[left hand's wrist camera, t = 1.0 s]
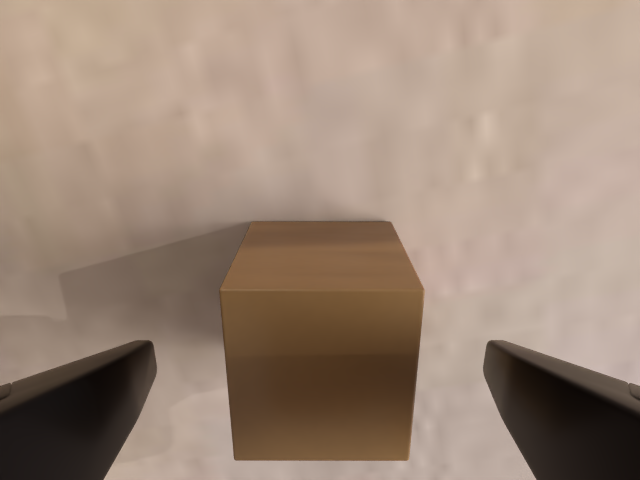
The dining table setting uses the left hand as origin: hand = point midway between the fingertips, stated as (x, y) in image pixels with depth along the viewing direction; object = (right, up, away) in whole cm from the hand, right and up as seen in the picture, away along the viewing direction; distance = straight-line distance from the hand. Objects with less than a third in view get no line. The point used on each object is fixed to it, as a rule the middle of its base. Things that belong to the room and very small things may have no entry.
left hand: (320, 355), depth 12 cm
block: (0, +1, +4) cm, 4 cm away
